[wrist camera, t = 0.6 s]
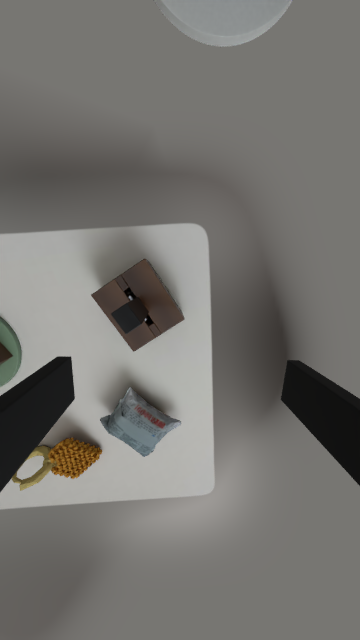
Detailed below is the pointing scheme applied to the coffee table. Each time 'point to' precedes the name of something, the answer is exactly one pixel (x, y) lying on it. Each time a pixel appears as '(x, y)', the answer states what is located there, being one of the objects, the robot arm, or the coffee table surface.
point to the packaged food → (138, 423)
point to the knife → (131, 314)
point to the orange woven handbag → (61, 461)
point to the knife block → (151, 295)
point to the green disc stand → (8, 353)
